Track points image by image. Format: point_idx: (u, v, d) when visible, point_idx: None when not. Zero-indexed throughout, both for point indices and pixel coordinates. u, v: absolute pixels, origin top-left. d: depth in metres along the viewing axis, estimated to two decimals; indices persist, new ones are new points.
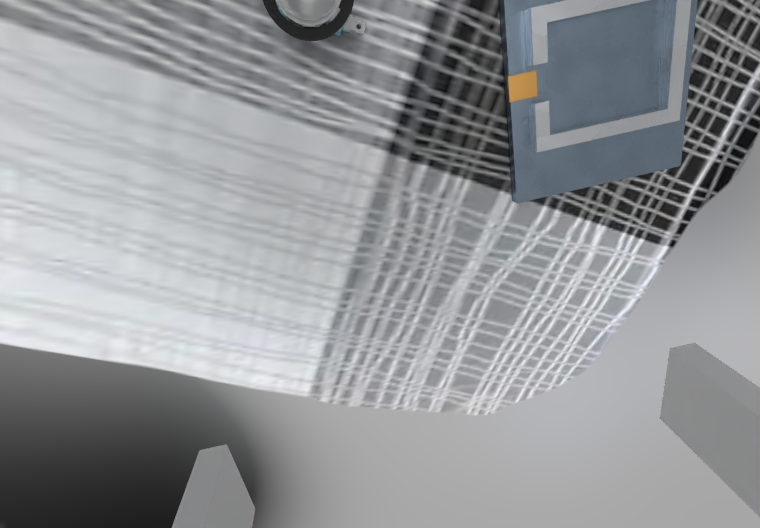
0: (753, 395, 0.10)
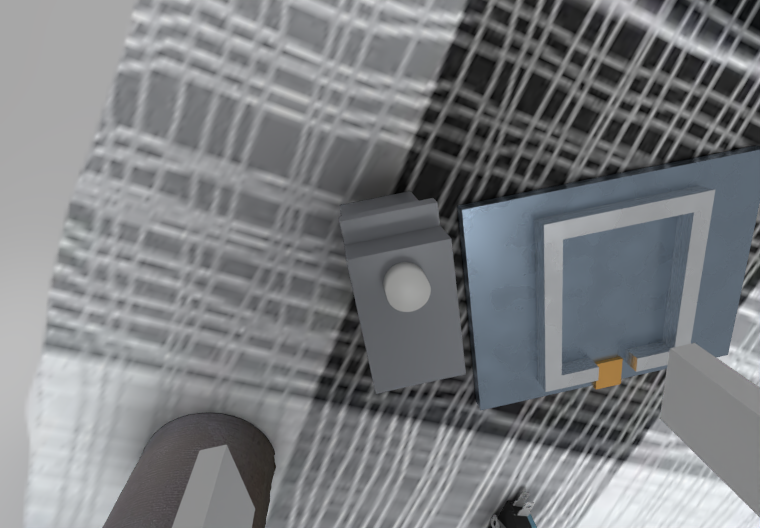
0: (753, 395, 0.10)
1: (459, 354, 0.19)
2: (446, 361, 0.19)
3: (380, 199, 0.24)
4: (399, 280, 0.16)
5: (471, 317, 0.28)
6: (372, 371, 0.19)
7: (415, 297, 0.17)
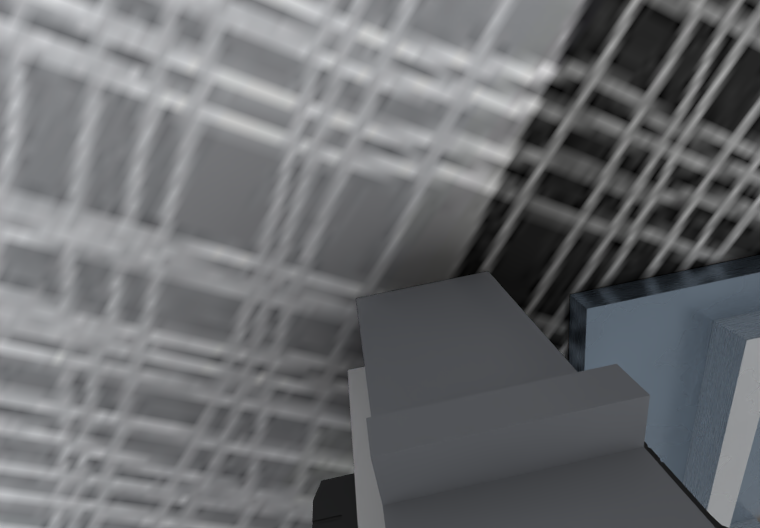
0: None
1: None
2: None
3: (434, 291, 0.13)
4: None
5: None
6: None
7: None
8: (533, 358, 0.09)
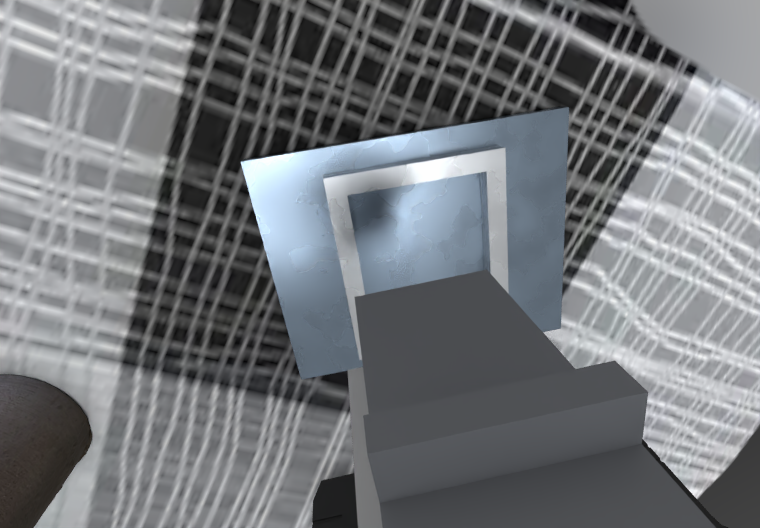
0: None
1: None
2: None
3: (433, 289, 0.13)
4: None
5: None
6: None
7: None
8: (532, 356, 0.09)
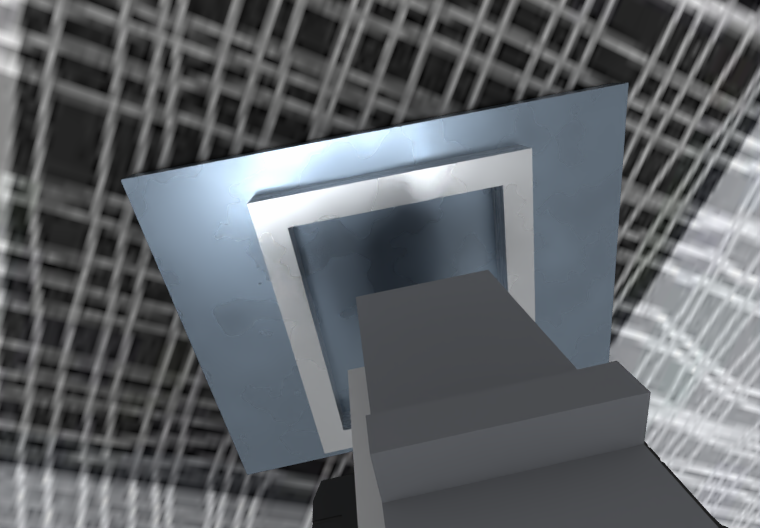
0: None
1: None
2: None
3: (434, 289, 0.13)
4: None
5: None
6: None
7: None
8: (533, 356, 0.09)
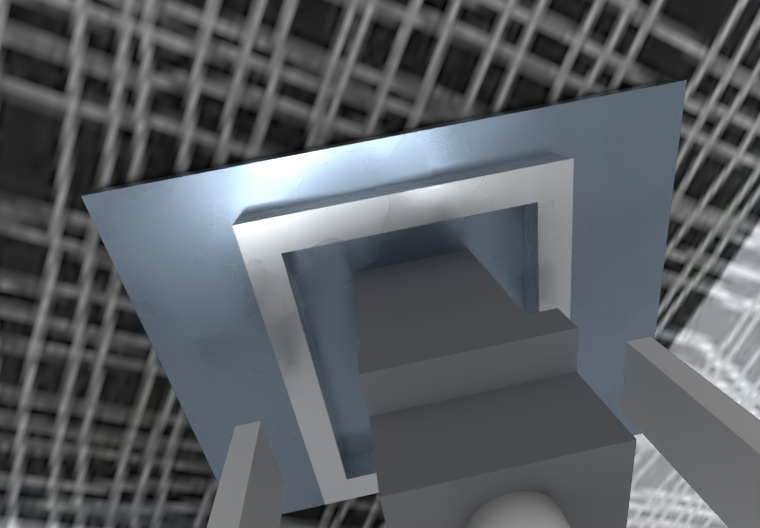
0: (697, 385, 0.10)
1: None
2: None
3: (420, 265, 0.14)
4: None
5: None
6: None
7: None
8: (499, 314, 0.11)
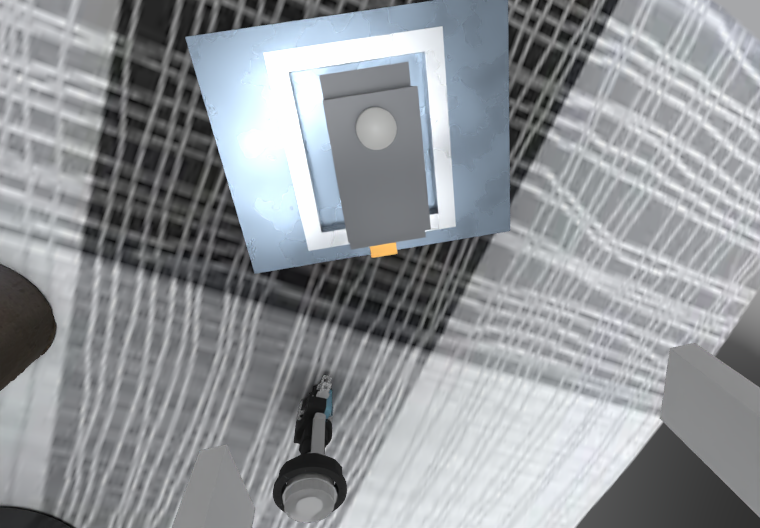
0: (753, 395, 0.10)
1: (425, 208, 0.21)
2: (413, 214, 0.21)
3: None
4: (368, 116, 0.18)
5: (224, 165, 0.28)
6: (345, 219, 0.21)
7: (382, 135, 0.18)
8: None
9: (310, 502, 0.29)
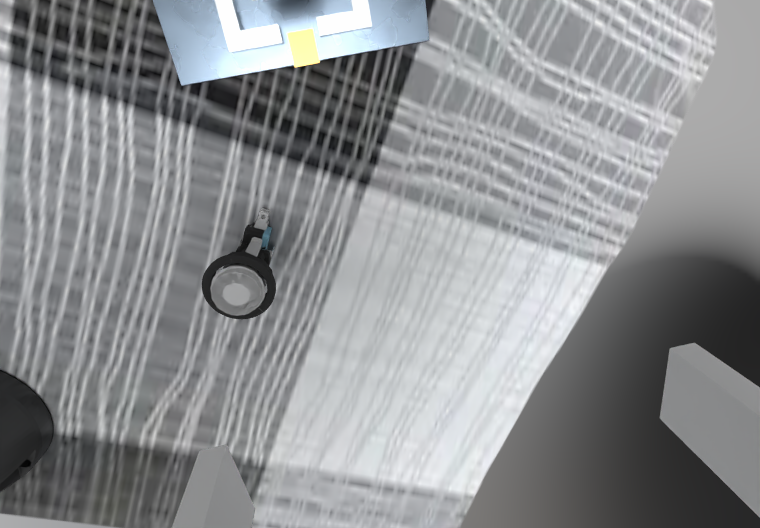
0: (753, 395, 0.10)
1: None
2: None
3: None
4: None
5: None
6: None
7: None
8: None
9: (236, 289, 0.30)
